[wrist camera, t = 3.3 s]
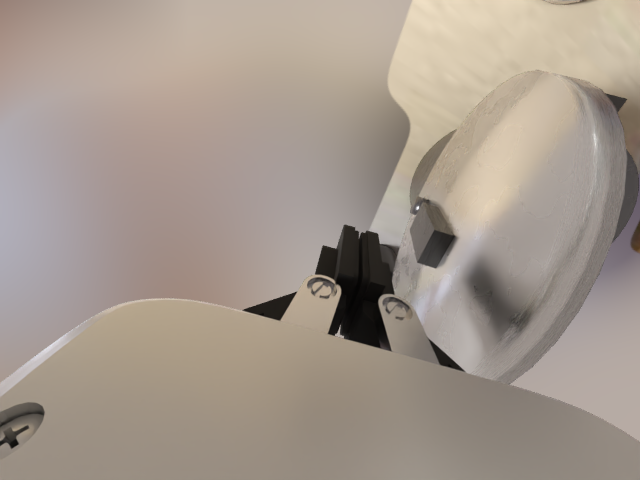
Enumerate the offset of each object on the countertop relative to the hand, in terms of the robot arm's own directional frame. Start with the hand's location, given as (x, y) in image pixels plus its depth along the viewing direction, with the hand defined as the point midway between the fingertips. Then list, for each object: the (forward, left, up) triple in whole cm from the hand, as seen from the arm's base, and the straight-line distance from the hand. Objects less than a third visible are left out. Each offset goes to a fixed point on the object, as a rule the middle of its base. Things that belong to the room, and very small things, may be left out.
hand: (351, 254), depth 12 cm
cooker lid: (0, +7, -5) cm, 9 cm away
